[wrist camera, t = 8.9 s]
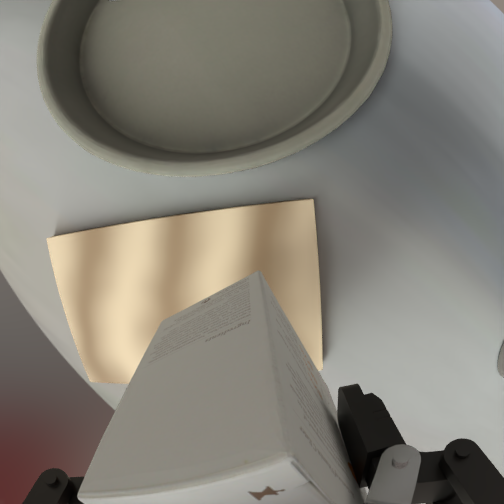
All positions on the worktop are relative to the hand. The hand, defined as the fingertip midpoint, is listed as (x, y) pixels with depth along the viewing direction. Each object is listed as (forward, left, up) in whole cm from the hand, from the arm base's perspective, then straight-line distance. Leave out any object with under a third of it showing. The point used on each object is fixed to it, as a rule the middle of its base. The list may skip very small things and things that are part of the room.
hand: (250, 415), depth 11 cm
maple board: (+5, 0, -12) cm, 13 cm away
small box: (0, 0, -5) cm, 5 cm away
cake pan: (0, -21, -12) cm, 25 cm away
